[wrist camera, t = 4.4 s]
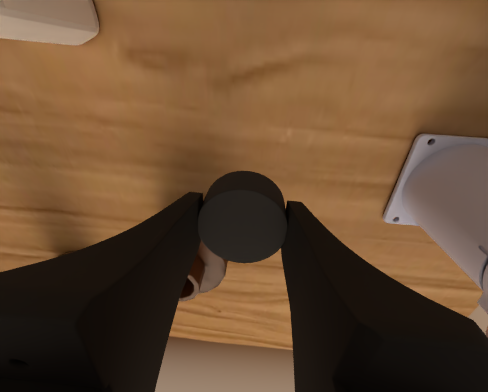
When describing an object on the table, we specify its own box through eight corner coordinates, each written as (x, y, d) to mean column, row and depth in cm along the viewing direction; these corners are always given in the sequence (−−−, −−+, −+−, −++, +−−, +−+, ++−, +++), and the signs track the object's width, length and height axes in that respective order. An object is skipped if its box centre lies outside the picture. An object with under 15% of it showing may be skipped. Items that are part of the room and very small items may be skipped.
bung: (287, 164, 11) (295, 193, 9) (277, 227, 13) (281, 267, 11) (209, 157, 12) (194, 185, 9) (210, 221, 13) (197, 259, 11)
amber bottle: (233, 203, 22) (222, 256, 16) (230, 257, 25) (221, 318, 19) (161, 197, 22) (122, 247, 16) (168, 251, 26) (139, 310, 19)
